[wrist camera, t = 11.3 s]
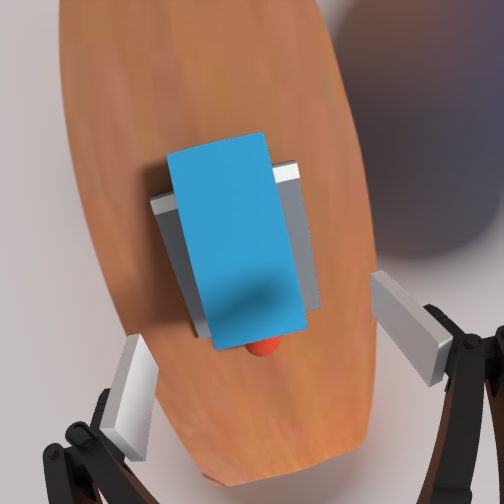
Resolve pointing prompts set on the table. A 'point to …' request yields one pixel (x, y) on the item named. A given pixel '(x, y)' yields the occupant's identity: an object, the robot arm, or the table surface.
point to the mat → (296, 229)
